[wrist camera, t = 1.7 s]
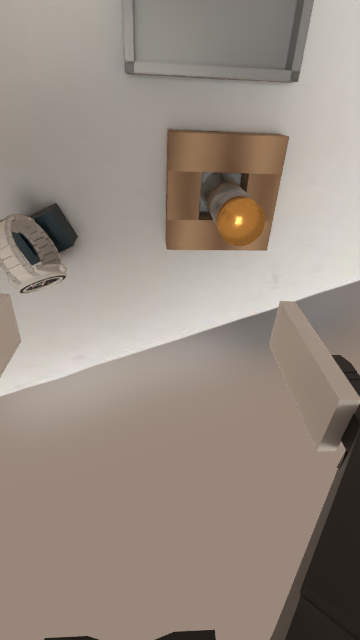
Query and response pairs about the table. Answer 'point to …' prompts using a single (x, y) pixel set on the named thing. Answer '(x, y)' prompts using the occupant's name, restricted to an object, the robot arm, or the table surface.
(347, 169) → the table surface
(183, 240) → the socket block
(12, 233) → the watch
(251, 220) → the pin
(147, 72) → the tray
